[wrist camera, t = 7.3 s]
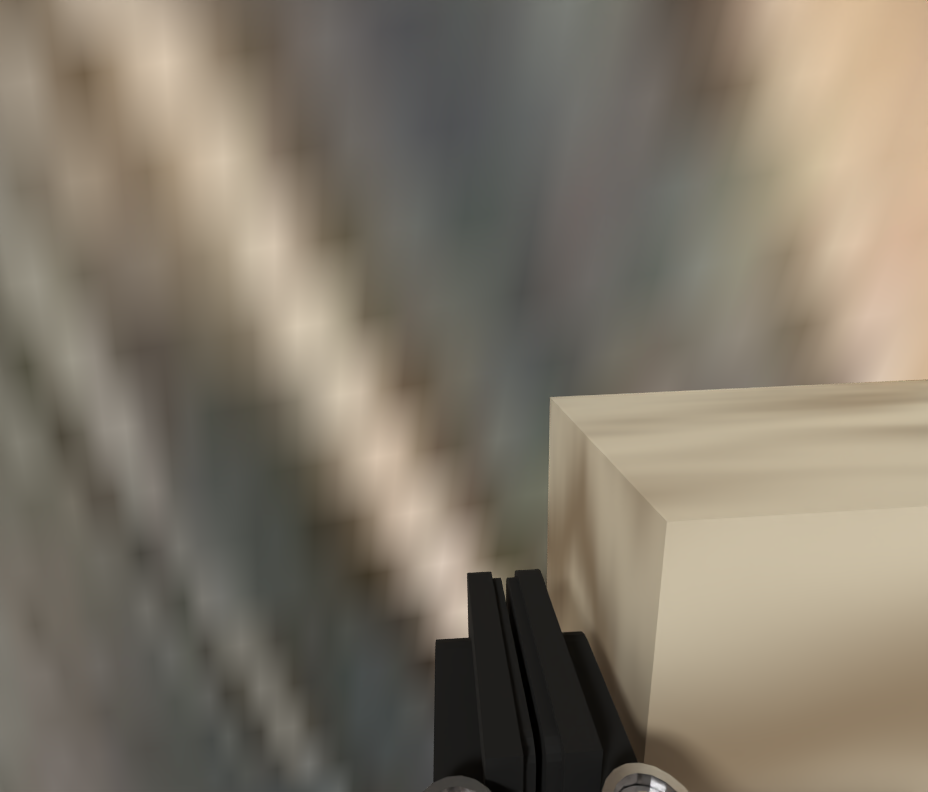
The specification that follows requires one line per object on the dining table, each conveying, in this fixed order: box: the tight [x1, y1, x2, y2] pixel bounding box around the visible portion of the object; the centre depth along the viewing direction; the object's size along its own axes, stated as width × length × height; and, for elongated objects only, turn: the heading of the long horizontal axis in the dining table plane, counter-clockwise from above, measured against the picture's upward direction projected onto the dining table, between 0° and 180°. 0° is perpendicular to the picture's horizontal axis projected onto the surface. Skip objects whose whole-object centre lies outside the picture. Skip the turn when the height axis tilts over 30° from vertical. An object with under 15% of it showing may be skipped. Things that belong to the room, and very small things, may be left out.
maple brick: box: [547, 380, 928, 792], centre depth 11 cm, size 8×12×7 cm, turn 92°
